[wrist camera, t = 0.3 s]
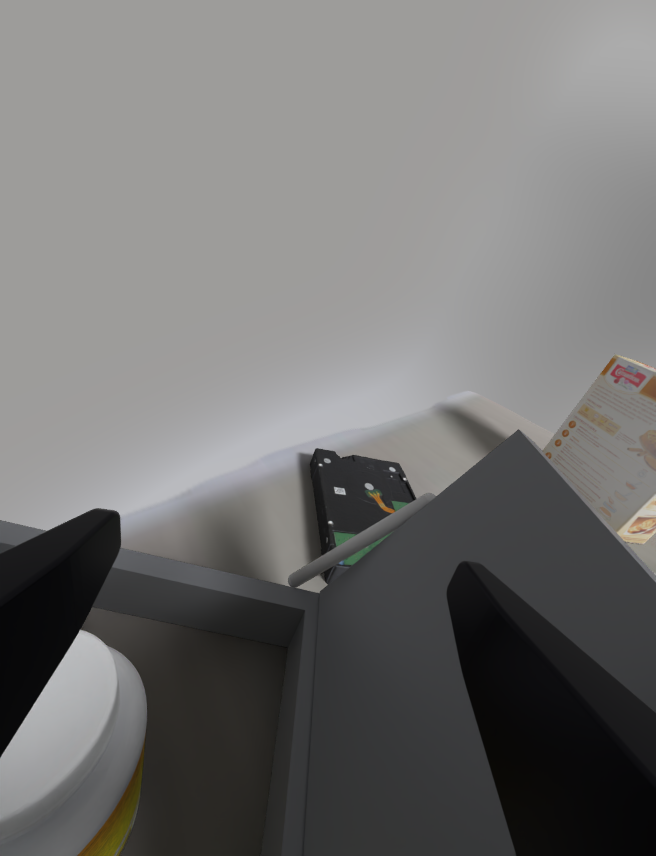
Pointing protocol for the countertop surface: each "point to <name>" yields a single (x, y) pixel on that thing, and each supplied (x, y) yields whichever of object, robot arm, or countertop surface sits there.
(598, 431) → the coffeecake box
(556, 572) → the equipment case
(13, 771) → the supplement bottle
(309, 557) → the countertop surface
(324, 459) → the disk drive
